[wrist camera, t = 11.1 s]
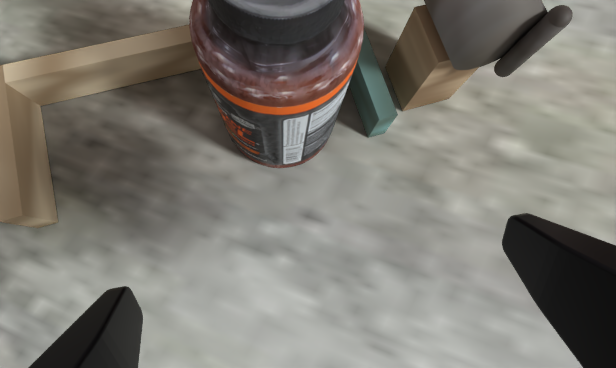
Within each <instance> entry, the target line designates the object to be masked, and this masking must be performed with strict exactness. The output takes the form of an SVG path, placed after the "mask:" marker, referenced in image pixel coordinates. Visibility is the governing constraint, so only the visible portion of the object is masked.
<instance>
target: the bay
mask: <svg viewBox="0 0 616 368" xmlns="http://www.w3.org/2000/svg"><path fill="white" fill-rule="evenodd" d="M198 69H201V66H200V64H199V61H198V58H197V56H196V53H195V51H194V48H193V44H192V41H191V36H190V28H189V25H185V26H181V27H176V28H171V29H167V30H162V31H157V32H153V33H148V34H144V35H139V36H134V37H130V38H125V39H120V40H116V41H111V42H106V43H102V44H97V45H93V46H88V47H83V48H79V49H74V50H69V51H65V52H60V53H55V54H51V55H46V56H42V57H37V58H32V59H28V60H23V61H18V62H14V63H9V64H5V65H0V222H4V223H10V224H16V225H22V226H29V227H35V228H39V227H43V226H47V225H50V224H54V223H58V217H57V211H56V204H55V198H54V191H53V185H52V178H51V172H50V165H49V159H48V152H47V145H46V139H45V132H44V126H43V119H42V113H41V106H43V105H47V104H52V103H56V102H60V101H64V100H69V99H73V98H77V97H82V96H86V95H90V94H95V93H99V92H103V91H107V90H112V89H116V88H120V87H125V86H129V85H133V84H138V83H142V82H146V81H150V80H155V79H159V78H163V77H168V76H172V75H176V74H181V73H185V72H189V71H193V70H198ZM349 86H350V89H351V92H352V94H353V97H354V100H355V103H356V106H357V108H358V111H359V114H360V117H361V119H362V122H363V125H364V128H365V130H366V133H367V136H368V137H372V136H376V135H379V134H383V133H385V131H386V130H387V129H388V127H389V126H390V125H391V123H392V122H393V121H394V119H395V118H396V116H397V115H398V114H397V112H396V109H395V106H394V104H393V101H392V99H391V96H390V94H389V91H388V88H387V86H386V83H385V81H384V78H383V75H382V73H381V70H380V68H379V65H378V62H377V60H376V57H375V55H374V52H373V50H372V47H371V44H370V42H369V39H368V37H367V34H366V31H365V29H364V32H363V41H362V45H361V50H360V53H359V57H358V60H357V62H356V65H355V68H354V71H353V74H352V77H351V79H350V82H349Z"/></svg>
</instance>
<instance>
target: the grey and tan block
mask: <svg viewBox="0 0 616 368" xmlns="http://www.w3.org/2000/svg"><path fill="white" fill-rule="evenodd" d="M424 2H425V4H426V5H422V6H417V7H414V10H413V12H412V14H411V16H410V18H409V20H408V22H407V24H406V26H405V28H404V30H403V32H402V34H401V36H400V38H399V40H398V42H397V44H396V46H395V48H394V50H393V52H392V54H391V56H390V58H389V60H388V62H387V64H386V66H385V68H386V70H387V73H388V75H389V78H390V80H391V83H392V85H393V88H394V91H395V93H396V96H397V98H398V101H399V103H400V106H401V109H402V111H405V110H408V109H412V108H416V107H420V106H423V105H427V104H431V103H435V102H438V101H442V100H446V99H449V98H450V97H451V96H452V95H453V94H454V93H455V92H456V91H457V90H458V89H459V87H460V86H461V85H462V84H463V83H464V82H465V81H466V80H467V79H468V78H469V77H470V76H471V75H472V74H473V73H474V72H475V71H476V70H477V69H478V68H479V67H481V66H484V65H486V64H489V63H491V62H494V61H496V60H498V59H500V58H501V59H500V60H499V61H498V62H497V63H496V64H495V67H494V71H495V73H496V74H497V75H498V76H500V77H506V76H508V75H510V74H511V73H512V72H514V71H515V70H516V69H517V68H518V67H519V66H521V65H522V64H523V63H524V62H525V61H526V60H528V59H529V58H530V57H531V56H532V55H533V54H534V53H536V52H537V51H538V50H539V49H540V48H541V47H543V46H544V45H545V44H546V43H547V42H548V41H550V40H551V39H552V38H553V37H554V36H555V35H557V34H558V33H559V32H560V31H561V30H562V29H563V28H565V27H566V26H567V25H568V24H569V23H570V21H571V19H572V10H571V9H570V8H569V7H568V6H565V5H560V6H556V7H554V8H552V9H551V10H550V11H549V12H547V10H546V8H545V6H544V4H543V2H542V0H424Z"/></svg>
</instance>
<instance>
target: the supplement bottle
mask: <svg viewBox="0 0 616 368" xmlns="http://www.w3.org/2000/svg"><path fill="white" fill-rule="evenodd" d="M189 28H190V36H191V41H192V44H193V48H194V51H195V53H196V56H197V58H198V61H199V64H200V66H201V70H202V73H203V75H204V76H205V78H206V82H207V83H208V85H209V88H210V90H211V93H212V95H213V97H214V99H215V103H216V105H217V107H218V109H219V112H220V114H221V117H222V119H223V121H224V124H225V126H226V128H227V131H228V132H229V135H230V137H231V139H232V141H233V142H234V143H235V144H236V146H237V147H238V149H239V150H240V151H241V152H242V153H244V154H245V155H246V156H247V157H248V158H250V159H252V160H253V161H255V162H257V163H259V164H262V165H265V166H268V167H273V168H286V167H293V166H296V165H300V164H302V163H305V162H306V161H308V160H310V159H311V158H313V157H314V156H315V155H316V154H317V153H319V151H320V150H321V149H322V148H323V147H324V145H325V144H326V142H327V140H328V138H329V136H330V134H331V132H332V129H333V127H334V124H335V121H336V118H337V116H338V113H339V110H340V107H341V104H342V102H343V99H344V96H345V93H346V90H347V88H348V85H349V82H350V79H351V77H352V74H353V71H354V68H355V65H356V62H357V60H358V57H359V53H360V50H361V45H362V41H363V32H364V19H363V13H362V9H361V5H360V2H359V0H193V2H192V6H191V9H190V24H189Z"/></svg>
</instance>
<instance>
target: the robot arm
mask: <svg viewBox="0 0 616 368" xmlns="http://www.w3.org/2000/svg"><path fill="white" fill-rule="evenodd" d="M502 246H503V250H504V252H505V254H506V255H507V257H508V259H509V260H510V262H511V263H512V265H513V267H514V268H515V270H516V272H517V273H518V275H519V277H520V278H521V280H522V282H523V283H524V285H525V287H526V288H527V290H528V292H529V293H530V295H531V297H532V298H533V300H534V301H535V303H536V304H537V306H538V307H539V309H540V310H541V311H542V313H543V314H544V316H545V317H546V318H547V320H548V321H549V322H550V324H551V325H552V326H553V328H554V329H555V330H556V332H557V333H558V334H559V336H560V337H561V338H562V340H563V341H564V342H565V344H566V345H567V346H568V348H569V349H570V351H571V352H572V353H573V355H574V356H575V357H576V359H577V360H578V361H579V363H580V364H581V365H582V367H583V368H616V246H615V245H613V244H610V243H607V242H605V241H602V240H599V239H597V238H594V237H591V236H588V235H586V234H583V233H580V232H578V231H575V230H572V229H569V228H567V227H564V226H561V225H559V224H556V223H553V222H550V221H548V220H545V219H542V218H540V217H537V216H534V215H532V214H528V213H524V214H518V215H513V216H511V217H510V218H509V219H508V221H507V224H506V228H505V232H504V236H503V239H502ZM142 324H143V315H142V311H141V308H140V306H139V304H138V302H137V300H136V298H135V296H134V294H133V292H132V291H131V289H130V288H129V287H126V286H124V287H118V288H113V289H109V290H107V291H106V292H105V293H104V294H103V295H102V296H100V297H99V298H98V299H97V300H96V301H95V302H94V303H93V304H92V305H91V306H90V307H89V308H88V309H87V310H86V311H85V312H84V313H83V314H82V315H81V316H80V317H79V318H78V319H77V320H76V321H75V322H74V323H73V324H72V325H71V326H70V327H69V328H68V329H67V330H66V331H65V332H64V333H63V334H62V335H61V336H60V337H59V338H58V339H57V340H56V341H55V342H54V343H53V344H52V345H51V346H50V347H49V348H48V349H47V350H46V351H45V352H44V353H43V354H42V355H41V356H40V357H39V358H38V359H37V360H36V361H35V362H34V363H33V364H32V365H31V366H30V367H29V368H138V362H139V353H140V343H141V334H142Z"/></svg>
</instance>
